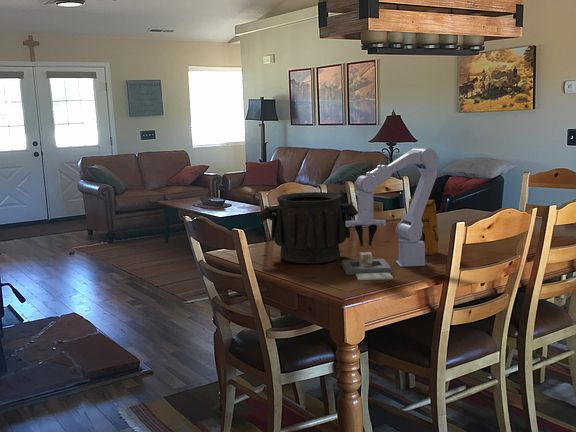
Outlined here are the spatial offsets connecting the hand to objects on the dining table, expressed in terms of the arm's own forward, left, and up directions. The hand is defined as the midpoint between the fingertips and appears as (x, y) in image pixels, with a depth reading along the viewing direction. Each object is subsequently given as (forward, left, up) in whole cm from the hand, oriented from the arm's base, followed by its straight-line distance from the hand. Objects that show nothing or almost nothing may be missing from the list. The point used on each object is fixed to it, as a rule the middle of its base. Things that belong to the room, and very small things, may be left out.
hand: (365, 245), depth 233 cm
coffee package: (-27, -23, -9) cm, 37 cm away
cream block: (0, 0, -9) cm, 9 cm away
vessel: (+19, -21, -9) cm, 30 cm away
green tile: (-1, +12, -9) cm, 15 cm away
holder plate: (0, 0, -9) cm, 9 cm away
